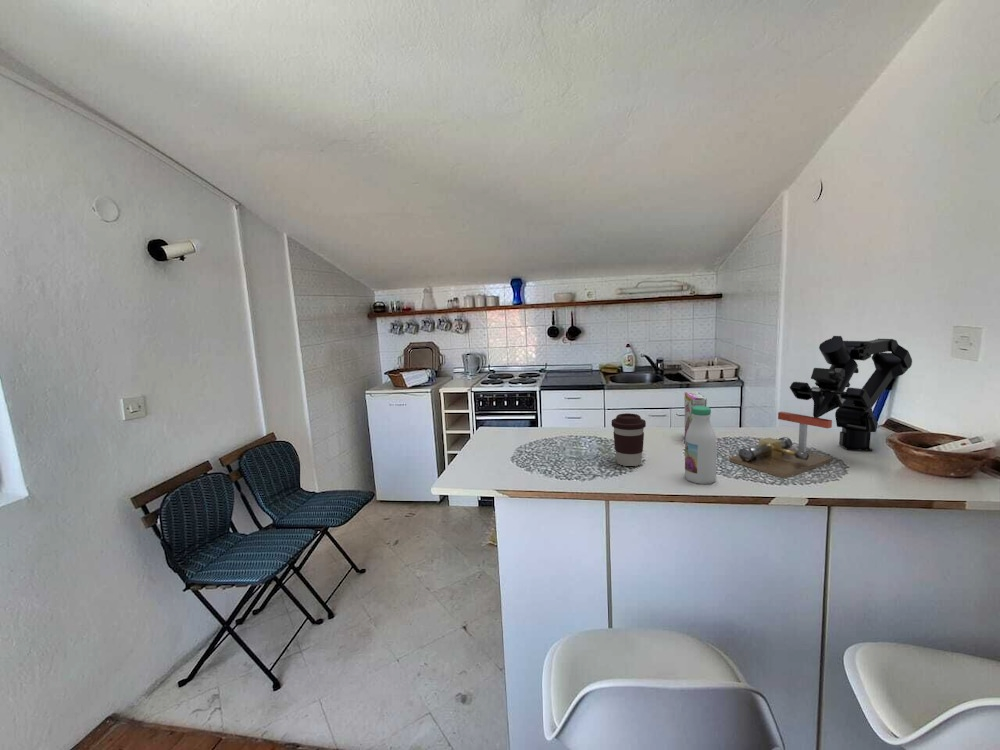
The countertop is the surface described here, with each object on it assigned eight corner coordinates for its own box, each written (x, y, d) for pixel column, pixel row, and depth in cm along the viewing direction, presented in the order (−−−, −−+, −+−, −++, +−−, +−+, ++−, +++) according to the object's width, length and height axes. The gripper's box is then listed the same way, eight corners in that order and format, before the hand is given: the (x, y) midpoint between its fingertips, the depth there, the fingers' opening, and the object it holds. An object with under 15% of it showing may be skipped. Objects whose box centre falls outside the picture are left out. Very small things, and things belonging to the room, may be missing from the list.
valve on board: (774, 448, 136) (775, 432, 135) (831, 462, 122) (832, 445, 121) (729, 461, 127) (729, 444, 126) (784, 478, 112) (785, 459, 112)
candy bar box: (683, 436, 154) (683, 392, 152) (698, 436, 153) (698, 391, 151) (690, 445, 143) (691, 398, 141) (706, 445, 142) (707, 398, 140)
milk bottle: (713, 475, 117) (715, 404, 115) (718, 485, 110) (719, 411, 107) (683, 472, 120) (684, 404, 117) (686, 483, 113) (686, 410, 110)
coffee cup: (647, 459, 132) (647, 412, 130) (644, 470, 123) (643, 420, 121) (615, 456, 136) (614, 411, 134) (609, 467, 127) (608, 418, 125)
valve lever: (780, 452, 127) (782, 411, 125) (829, 465, 115) (832, 420, 113) (776, 453, 126) (777, 412, 124) (825, 466, 114) (827, 421, 112)
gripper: (794, 355, 130) (770, 395, 126) (868, 359, 113) (843, 405, 110) (808, 378, 134) (785, 417, 131) (881, 385, 117) (857, 430, 114)
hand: (815, 416), depth 121 cm, fingers closed
